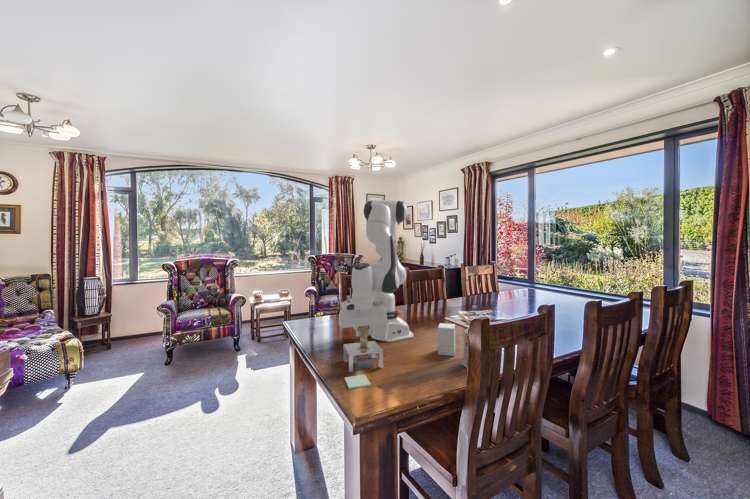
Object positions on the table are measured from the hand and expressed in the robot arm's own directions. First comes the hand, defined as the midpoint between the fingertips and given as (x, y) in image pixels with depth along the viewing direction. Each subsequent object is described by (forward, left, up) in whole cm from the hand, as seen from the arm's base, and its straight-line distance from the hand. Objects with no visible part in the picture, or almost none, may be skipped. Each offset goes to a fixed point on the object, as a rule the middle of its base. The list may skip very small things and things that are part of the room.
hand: (363, 335), depth 132 cm
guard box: (0, 0, -12) cm, 12 cm away
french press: (-44, +13, -13) cm, 47 cm away
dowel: (0, 0, -5) cm, 5 cm away
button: (0, +1, -12) cm, 12 cm away
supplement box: (-40, -1, -13) cm, 42 cm away
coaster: (+6, +15, -12) cm, 20 cm away
